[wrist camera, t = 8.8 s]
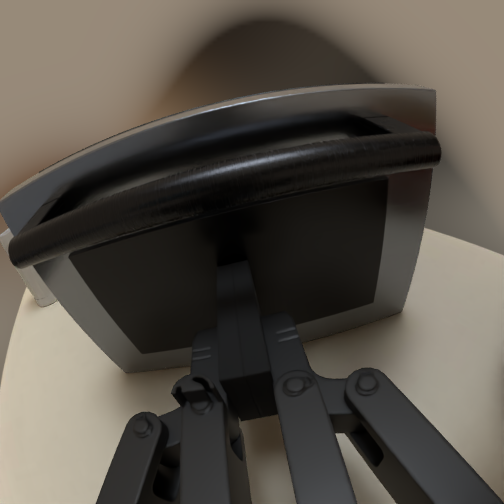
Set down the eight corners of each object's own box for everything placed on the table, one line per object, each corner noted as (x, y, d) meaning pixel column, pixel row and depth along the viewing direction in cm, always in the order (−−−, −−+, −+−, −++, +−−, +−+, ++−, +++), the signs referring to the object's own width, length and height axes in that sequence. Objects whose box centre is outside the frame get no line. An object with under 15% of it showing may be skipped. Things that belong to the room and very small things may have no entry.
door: (420, 344, 16) (486, 106, 6) (121, 408, 16) (-38, 241, 7) (393, 296, 20) (416, 84, 10) (127, 356, 20) (10, 190, 10)
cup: (32, 298, 34) (0, 233, 28) (68, 274, 39) (39, 209, 33) (36, 317, 29) (-4, 240, 23) (78, 288, 34) (42, 211, 28)
